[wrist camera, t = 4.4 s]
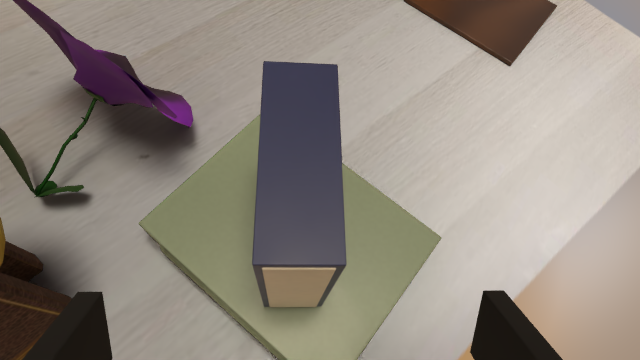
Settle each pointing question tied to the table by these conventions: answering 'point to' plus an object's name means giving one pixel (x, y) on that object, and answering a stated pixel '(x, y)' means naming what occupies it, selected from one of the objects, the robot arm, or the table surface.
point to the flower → (95, 91)
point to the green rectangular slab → (237, 249)
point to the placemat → (491, 22)
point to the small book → (299, 186)
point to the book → (23, 301)
